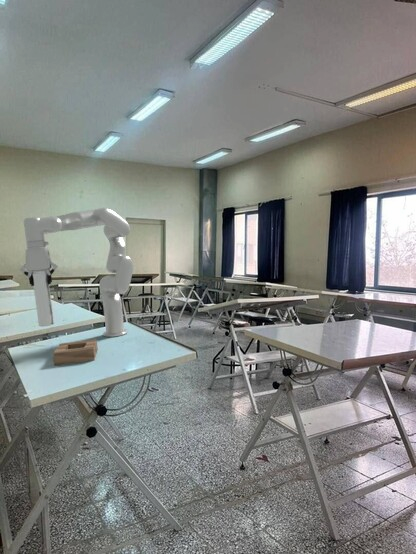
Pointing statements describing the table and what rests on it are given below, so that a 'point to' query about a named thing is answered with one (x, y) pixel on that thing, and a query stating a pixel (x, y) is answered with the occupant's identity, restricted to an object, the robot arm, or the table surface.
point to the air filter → (42, 298)
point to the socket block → (75, 352)
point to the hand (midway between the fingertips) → (41, 284)
